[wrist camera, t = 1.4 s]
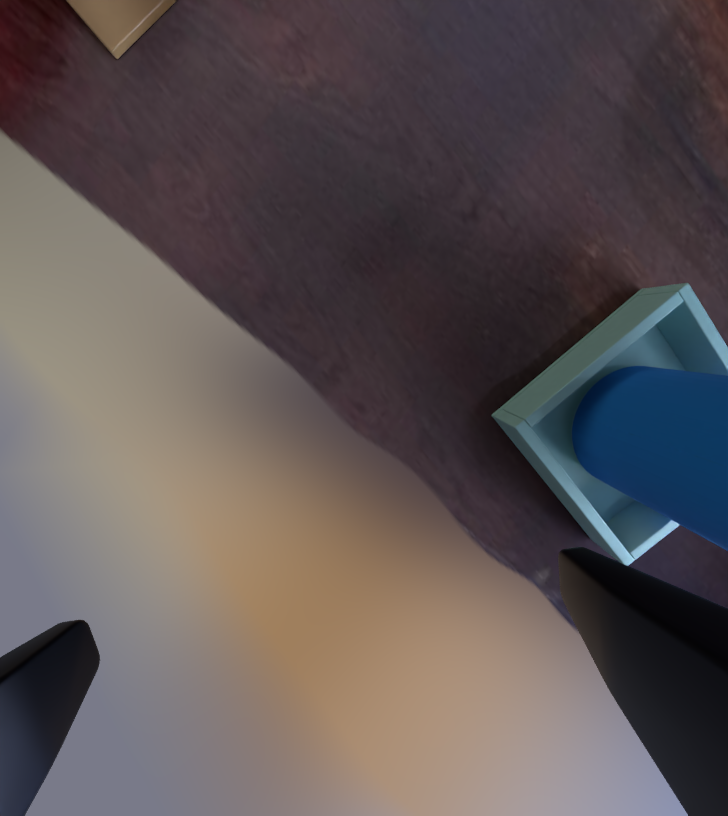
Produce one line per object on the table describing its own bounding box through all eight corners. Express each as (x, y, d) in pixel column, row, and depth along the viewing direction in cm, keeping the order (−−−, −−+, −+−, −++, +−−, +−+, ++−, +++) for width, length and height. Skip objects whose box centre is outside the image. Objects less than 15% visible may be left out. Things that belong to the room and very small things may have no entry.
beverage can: (695, 419, 22) (1111, 519, 10) (611, 500, 23) (914, 684, 11) (626, 339, 21) (1010, 350, 9) (539, 427, 21) (793, 545, 10)
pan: (591, 539, 23) (626, 567, 21) (490, 415, 21) (514, 427, 19) (731, 428, 23) (786, 441, 20) (641, 288, 21) (688, 281, 18)
